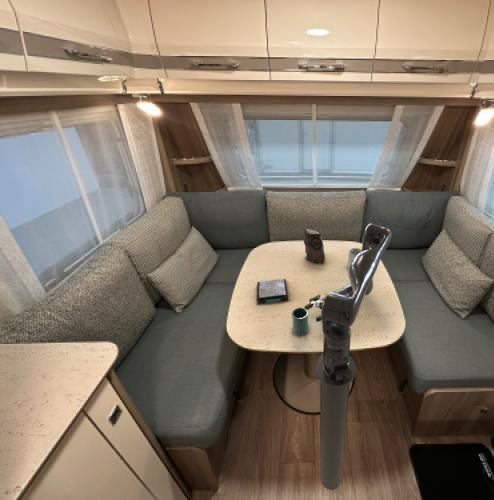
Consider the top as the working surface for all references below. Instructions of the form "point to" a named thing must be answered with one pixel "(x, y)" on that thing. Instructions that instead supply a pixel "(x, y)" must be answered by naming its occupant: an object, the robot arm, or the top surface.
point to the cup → (300, 321)
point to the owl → (314, 246)
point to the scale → (272, 291)
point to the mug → (353, 255)
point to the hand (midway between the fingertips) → (310, 314)
